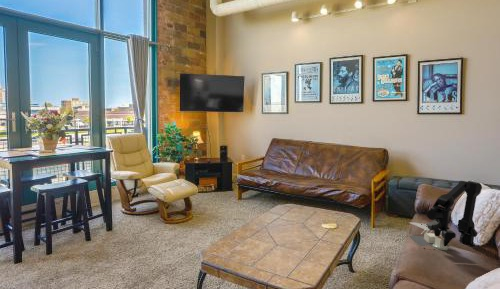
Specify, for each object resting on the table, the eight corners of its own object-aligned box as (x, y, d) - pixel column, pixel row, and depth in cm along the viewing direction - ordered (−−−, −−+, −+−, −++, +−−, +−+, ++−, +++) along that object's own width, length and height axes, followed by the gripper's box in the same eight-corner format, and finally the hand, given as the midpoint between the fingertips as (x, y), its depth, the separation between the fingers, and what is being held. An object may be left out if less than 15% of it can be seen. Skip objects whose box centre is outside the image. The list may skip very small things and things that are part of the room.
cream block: (441, 244, 198) (441, 236, 197) (446, 248, 192) (447, 239, 191) (434, 243, 198) (435, 235, 197) (439, 247, 192) (440, 239, 191)
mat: (433, 237, 212) (434, 236, 211) (452, 251, 191) (452, 249, 191) (407, 236, 212) (407, 234, 212) (423, 250, 191) (423, 248, 191)
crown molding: (409, 221, 239) (438, 224, 235) (409, 223, 239) (438, 226, 235) (419, 233, 216) (452, 236, 212) (419, 235, 216) (452, 238, 212)
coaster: (443, 244, 199) (443, 243, 199) (451, 250, 190) (451, 249, 190) (429, 244, 199) (429, 242, 199) (437, 249, 191) (437, 248, 191)
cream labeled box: (438, 239, 206) (438, 233, 206) (443, 243, 201) (443, 237, 200) (423, 239, 207) (424, 232, 206) (428, 242, 201) (429, 236, 200)
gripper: (421, 212, 202) (419, 236, 204) (437, 222, 184) (435, 249, 186) (439, 213, 202) (437, 237, 204) (457, 223, 183) (455, 249, 185)
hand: (440, 243), depth 195 cm, fingers open, 9 cm apart
